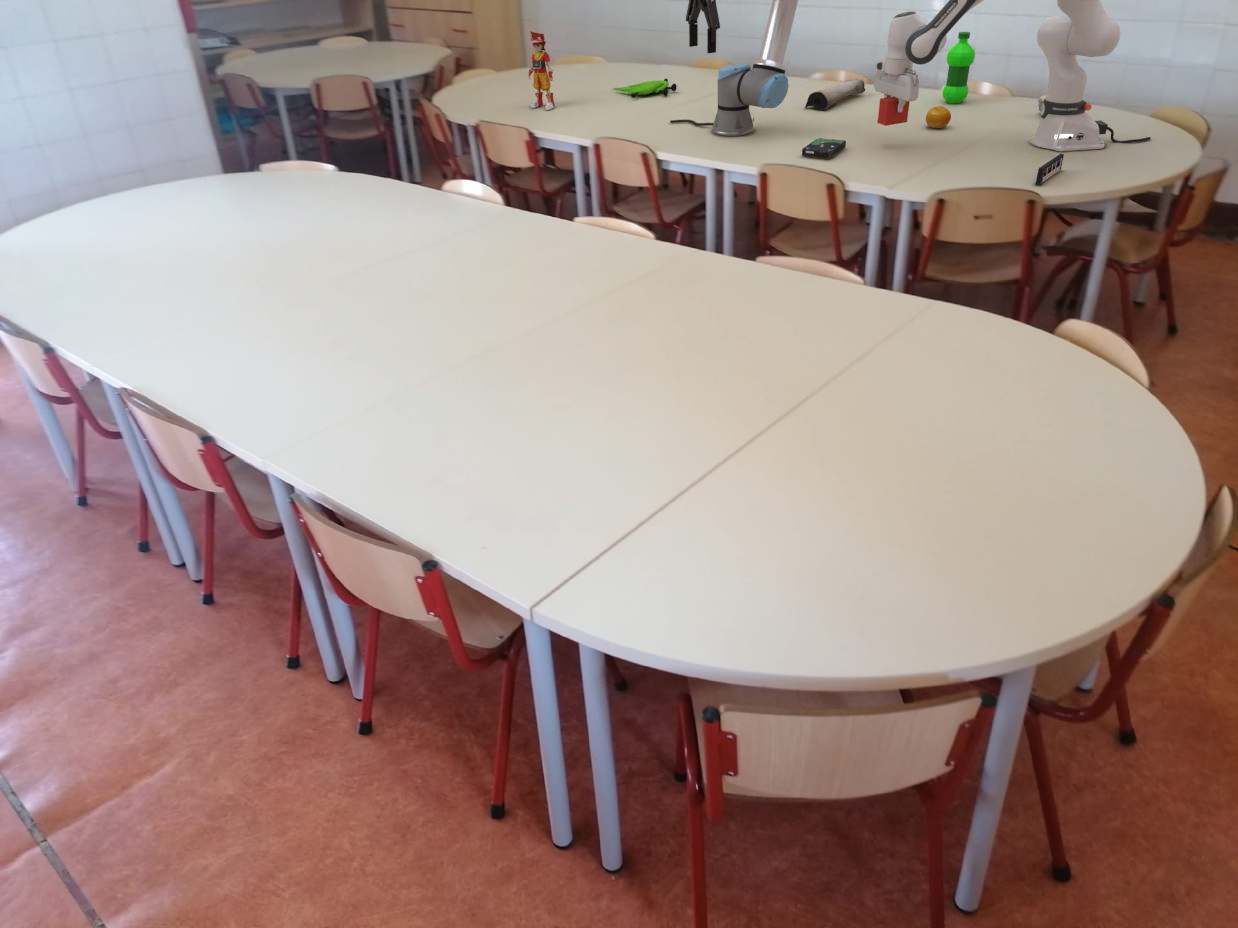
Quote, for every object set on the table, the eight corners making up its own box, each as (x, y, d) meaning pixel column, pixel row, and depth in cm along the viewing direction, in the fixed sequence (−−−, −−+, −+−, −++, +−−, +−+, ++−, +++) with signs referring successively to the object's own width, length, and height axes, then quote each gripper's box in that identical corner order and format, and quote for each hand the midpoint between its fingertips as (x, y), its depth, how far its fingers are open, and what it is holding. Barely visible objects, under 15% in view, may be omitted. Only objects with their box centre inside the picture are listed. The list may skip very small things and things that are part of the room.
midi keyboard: (1039, 185, 269) (1043, 168, 266) (1035, 184, 270) (1038, 168, 267) (1060, 170, 279) (1064, 154, 277) (1056, 169, 280) (1060, 153, 277)
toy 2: (686, 85, 398) (631, 84, 414) (685, 72, 395) (629, 72, 411) (651, 104, 381) (596, 103, 397) (650, 92, 378) (594, 91, 394)
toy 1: (525, 109, 381) (517, 32, 364) (534, 104, 388) (527, 28, 371) (550, 110, 377) (543, 32, 360) (559, 105, 384) (553, 28, 367)
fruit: (920, 119, 323) (935, 99, 320) (921, 122, 331) (935, 102, 328) (940, 132, 322) (955, 112, 319) (940, 135, 329) (955, 115, 326)
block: (907, 122, 306) (910, 97, 302) (885, 126, 304) (888, 101, 299) (898, 119, 310) (901, 95, 305) (877, 123, 308) (880, 98, 303)
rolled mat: (840, 84, 376) (857, 68, 368) (852, 102, 376) (869, 87, 368) (801, 102, 358) (818, 86, 350) (814, 122, 359) (831, 106, 351)
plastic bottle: (973, 101, 354) (984, 32, 339) (955, 106, 349) (966, 36, 335) (952, 97, 361) (962, 29, 346) (934, 102, 356) (944, 33, 342)
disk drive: (830, 160, 301) (845, 148, 311) (830, 152, 299) (846, 140, 309) (801, 157, 305) (817, 145, 315) (801, 148, 304) (818, 137, 314)
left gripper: (731, -22, 270) (730, 54, 282) (696, -29, 289) (696, 42, 301) (709, -20, 267) (708, 57, 280) (675, -27, 287) (676, 45, 299)
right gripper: (926, 70, 290) (920, 115, 297) (888, 60, 305) (884, 102, 313) (909, 73, 288) (904, 118, 296) (872, 62, 304) (868, 105, 312)
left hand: (702, 49), depth 290 cm, fingers open, 13 cm apart
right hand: (893, 110), depth 305 cm, fingers closed on block, 5 cm apart
